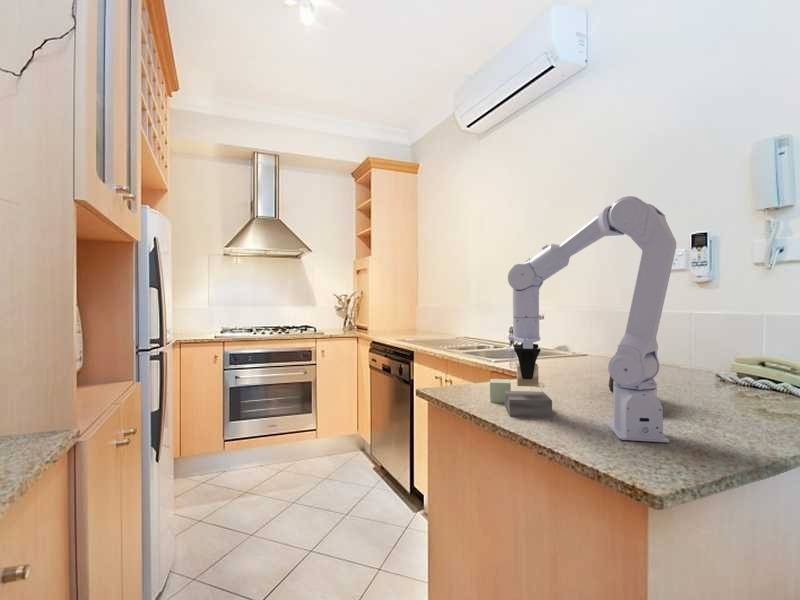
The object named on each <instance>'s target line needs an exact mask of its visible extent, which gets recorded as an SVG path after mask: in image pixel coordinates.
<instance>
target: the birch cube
mask: <svg viewBox="0 0 800 600" xmlns="http://www.w3.org/2000/svg"><path fill="white" fill-rule="evenodd" d="M539 380H540V379H539V365H538V363H535V368H534V374H533V378H532V379H522V375H521V370H520V364H519V362H517V363H516V384H517V387H534V388H535V387H536V388H537V387H538V388H539V385H540V384H539V383H540V381H539Z"/></svg>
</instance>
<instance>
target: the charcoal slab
mask: <svg viewBox="0 0 800 600" xmlns="http://www.w3.org/2000/svg"><path fill="white" fill-rule="evenodd" d="M504 392H505V403H504V408H505V409H506V412H507V414H508V416H509V417H511V418H512V417H514V418H515V416H516V417H517V418H519V417H520V418H553V400H552V399H551V397H549V396H548V395H547V394H546V393H545V391H531V390H529V391H525V390H523V391H522V390H521V391H519V390H511V391H504Z"/></svg>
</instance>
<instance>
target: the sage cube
mask: <svg viewBox="0 0 800 600" xmlns="http://www.w3.org/2000/svg"><path fill="white" fill-rule="evenodd" d="M504 391H512V389H511V379H510V378H509V379H506V378H505V379H504V378H499V379H498V378H490V381H489V400H490V401H489V402H490V403H501V404H502V403H503V404H505V392H504Z"/></svg>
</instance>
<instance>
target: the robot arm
mask: <svg viewBox="0 0 800 600" xmlns="http://www.w3.org/2000/svg"><path fill="white" fill-rule="evenodd" d="M624 235H626V236H628V237H630V239H631V241H633V242H634V243H635V244H636V245H637V246H638V247H639V248H640V250H641V251H642V253H641V257H640V262H639V267H638V271H637V276H636V280H635V285H634V290H633V295H632V299H631V303H630V308H629V313H628V317H627V324H626V329H625V332H624V335H623V336H622V338H621V340H620V341H619V344H618V345H617V349H616V352H615V353H616V354H614V355H613V356H612V357H611V358H610V360H609V362H608V366H607V367H608V368H607V369H608V374H609V377H610V376H611V378H612V379H613V380H614V381H613V392H612V394H613V396H612V397H613V400H612V401H613V422H607V426H608V427H609V428H610V430H611V431H612V432H613V433H614V434H615V435H616V437H617V438H618V439H619V440H621V441H636V442H637V441H639V442H651V443H652V442H653V443H654V442H655V443H670V439H669V438H667V437H666V436H665V435H664V424H663V423H664V418H663V417H664V416H663V415H664V414H663V411H664V409H663V404H662V402H661V401H660V400H659V398H658V395H657V394H658V385H657V382H656V381H655V379H654V378H655V377H656V376H657V375H658V374H659V372H660V361H659V358H658V350H659V344H658V341H657V335H658V331H659V326H660V322H661V318H662V313H663V308H664V303H665V299H666V296H667V290H668V286H669V282H670V277H671V273H672V269H673V268H672V267H673V264H674V259H675V255H676V251H677V250H676V249H677V241H676V239H675V236H674V234H673V232H672V230H671V228H670V226H669V224H668V221H667V218H666V215H665V214H664V213H663V212H662V211H661V210H659V209H658V207H656V206H654V205H653V204H650V203H648V202H645V201H644V200H642V199H641V198H638V197H636V196H632V195H628V196H623V197H621V198H619V199H617V200H616V201H615V202H614V203H613V204H612V205H609V206H606V207H604V208H603V209H602V210H601V211H600V212H599V214H597V215H596V216H595V217H594V218H593V219H591V220H590V221H588V223H586V224H585V225H584V226H582V227H581V228H580V229H578V230H577V231H576V232H575V233H573V234H572V235H571V236H569V237H568V238H567V239H566V240H564V241H563V242H562V243H560V244H556V243H551V244H549V245H548V244H545V245H544V246H542V247H541V251H540V252H538V253H537V254H535V255H534V256H533V257H531V258H527V259H525V263H516V264H514V265H513V267H512V268H511V269H509V272H508V275H507V281H508V284H509V286H510V287H511V288H512V331H513V332H512V334H513V335H510V336H507V338H508V339H507V340H508V341H514V342H519V343H520V344H513V346H512V347H513V350H514V352H515V354H516V356H517V359H518V363H519V364H520V370H521V375H522V379H532V378H533V374H534V368H535V364H537V363H536V362H537V359H538V357H539V354H540V353H541V348H539V344H538V343H536V342H539V341H541V337H540V296H539V295H540V288H541V287H542V286H543V284H544V281H546V280H548V279H549V278H550V277H552V276H553V275H555V274H557V273H558V272H560V271H561V270H563V269H565V268H566V267H567V266H568V265H569V263H570V259H571V257H573V256H574V255H575V254H578V253H579V252H581V251H583V250H584V249H586V248H587V247H589V246H590V245H592V244H594V243H596V242H597V241H599V240H600V239H603V238H604V237H610V236H611V237H612V236H624Z"/></svg>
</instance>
